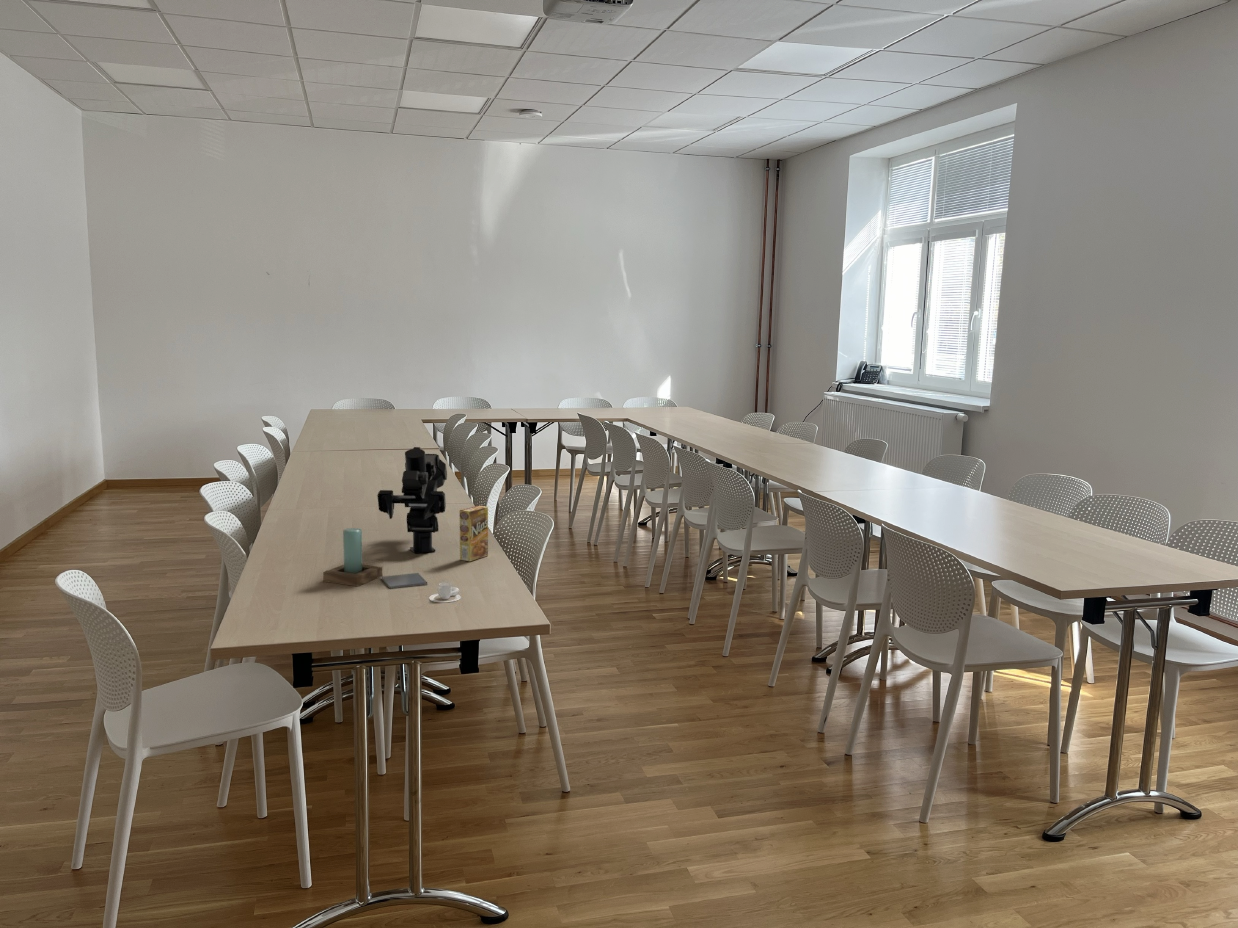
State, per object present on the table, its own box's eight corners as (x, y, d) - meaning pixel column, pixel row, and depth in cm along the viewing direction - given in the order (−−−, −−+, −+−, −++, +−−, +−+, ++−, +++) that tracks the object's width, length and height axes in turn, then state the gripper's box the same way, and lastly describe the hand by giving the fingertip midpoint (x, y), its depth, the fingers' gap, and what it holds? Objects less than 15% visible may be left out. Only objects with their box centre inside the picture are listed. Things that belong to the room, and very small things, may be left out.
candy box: (470, 562, 256) (470, 511, 254) (458, 560, 258) (458, 509, 256) (488, 555, 264) (488, 506, 262) (477, 553, 266) (477, 504, 264)
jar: (342, 577, 238) (341, 529, 236) (360, 575, 240) (359, 527, 238) (345, 581, 233) (344, 532, 231) (364, 579, 236) (363, 531, 234)
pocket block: (349, 571, 244) (349, 562, 243) (382, 575, 240) (382, 566, 239) (323, 581, 233) (323, 572, 233) (357, 586, 230) (357, 577, 229)
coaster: (381, 578, 237) (381, 576, 237) (418, 574, 242) (418, 572, 242) (389, 588, 228) (389, 586, 228) (427, 584, 233) (427, 582, 233)
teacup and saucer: (453, 592, 228) (453, 577, 228) (469, 599, 222) (469, 584, 222) (423, 598, 222) (423, 583, 222) (439, 606, 216) (439, 590, 216)
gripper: (381, 463, 249) (370, 492, 236) (446, 464, 250) (439, 494, 237) (384, 495, 255) (374, 526, 242) (448, 497, 256) (441, 527, 243)
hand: (407, 517), depth 241 cm, fingers open, 9 cm apart
